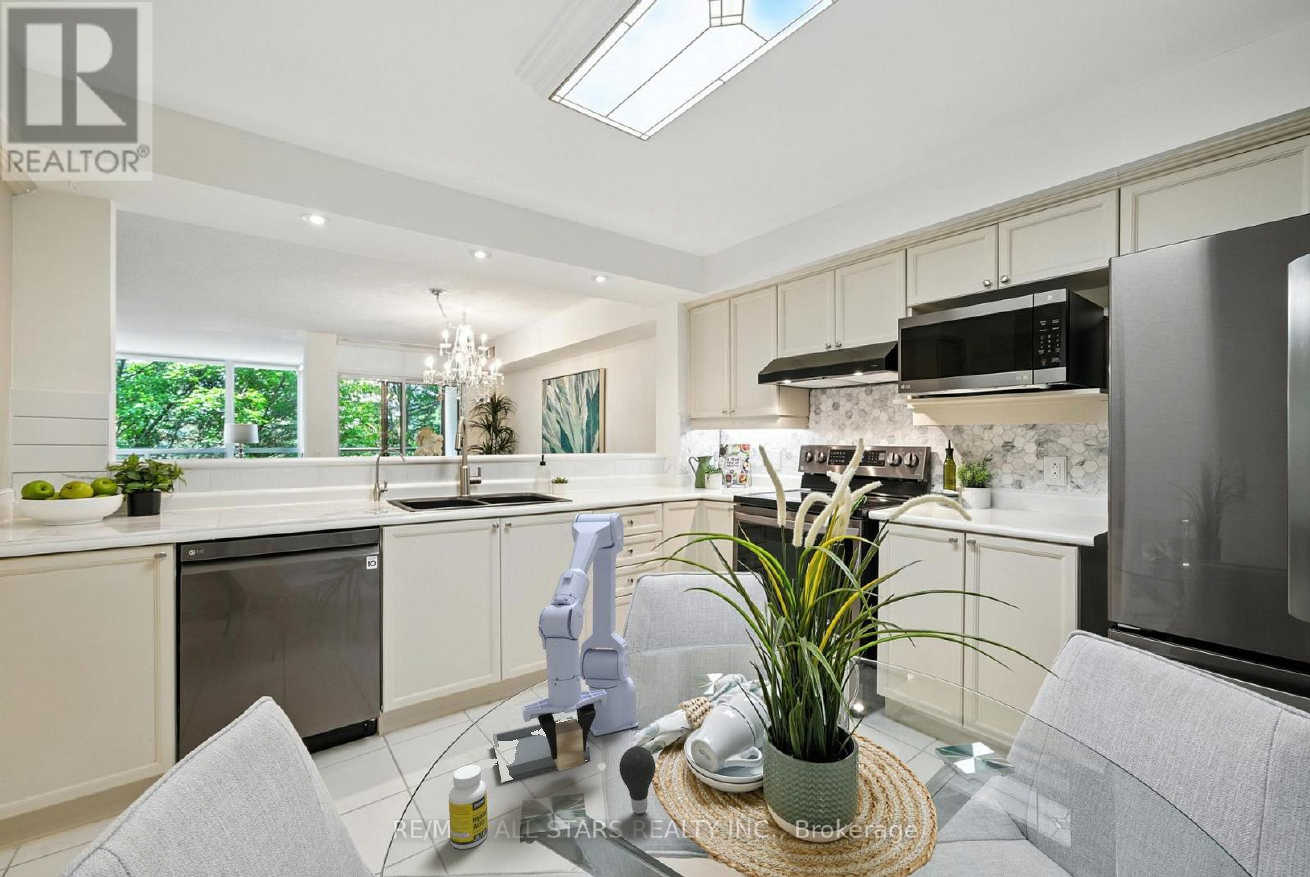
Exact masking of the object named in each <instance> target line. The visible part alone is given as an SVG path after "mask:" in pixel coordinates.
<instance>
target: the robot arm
mask: <svg viewBox="0 0 1310 877" xmlns="http://www.w3.org/2000/svg"><path fill="white" fill-rule="evenodd" d="M624 526H625V525H624V522H623V518H622V516H621V515H620V514H619V513H618V512H613V513H596V514H595V513H591V514H590V513H589V514H588V513H587V514H582V513H577V514H576V515H575V516H574V517H573V520H572V523H571V534H572V540H573V542H574V546H573V551H572V555H571V559H570V562H569V567H568V569H567V570H566V569H565V570H564V571H562V573H561V574H560V577H559V579H558V582H557V584H556V587H555V590H554V593H553V595H552V598H551V601H550V604H548V605H547V606H546V607H544V608H543V609H542V610H540V613H539V614H540V615H539V619H538V626H537V629H538V634H539V636H540V638H541V641H542V642H541V643H542V645H541V646H542V648H543V650H545V656H546V658H545V660H546V676H547V677H546V678H547V691H548V693H547V694H548V696H547V698H544V699H542V700H538V701H537V702H534V703H532V704H527V705H523V706H522V719H523V721H524V723H527V722H531V721H532V720H533V719H537V720H538V722H539V723H538V724H540V725H541V727H542V729H543V731H544V732H545V734H546V737H547V740H548V743H549V747H550V752H551V756H552V759H553V760H554V759H557V749H556V724H555V721H554V720H555V716H554V715H555V714H560V713H564V714H570V713H574V712H576V717H577V718H576V719H577V721H578V723H579V724H580V726H581V728H582V734H583V752H585V751H586V743H588V739H589V733H590V732H591V733H592V732H593V733H592V735H593V737H599V736H602V735H607V734H611V733H614V732H618V731H623V730H628V729H631V728H635V727H638V726H639V722H638V714H637V713H638V712H637V697H636V688H635V684H634V680H633V679H632V678H631V677H630V676H629V675H630V670H631V656H630V652H629V643H628V642H627V641H626V639H624V638H623V637H622V636H620V635H619V634H618V633H617V632H616V599H617V598H616V590H617V589H616V587H617V586H616V585H617V583H616V582H617V581H616V579H617V578H616V576H617V572H616V570H617V568H616V567H617V564H616V563H617V554H619V553H621V552H622V551H623V550H624V538H625V537H624V531H625V530H624ZM592 564H593V568H592V569H593V571H592V572H593V573H592V574H593V577H592V586H593V587H592V589H593V590H592V634H591V635H589V637H587V638H586V639H585V640H584V641H583V642H582V643H581V646H579V645H580V643H579V642H580V641H579V637H580V636H581V634H582V631H583V627H584V615H585V609H584V604H585V600H586V598H587V594H588V591H589V587H590V584H591V583H590V582H591V581H590V579H589V577H588V576H587V575H588V573H589V571H590V568H591V566H592ZM582 680H583V681H585V686H588V690H584V691H583V690H582Z"/></svg>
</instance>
